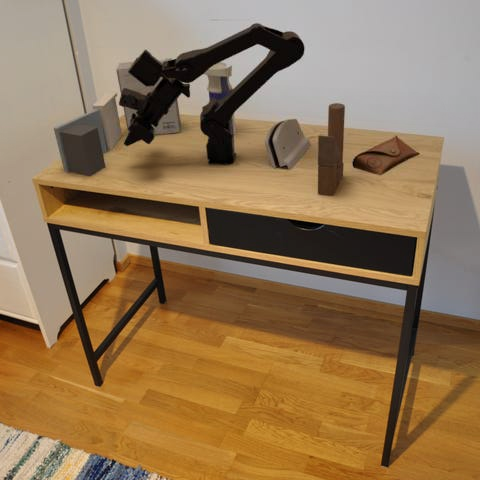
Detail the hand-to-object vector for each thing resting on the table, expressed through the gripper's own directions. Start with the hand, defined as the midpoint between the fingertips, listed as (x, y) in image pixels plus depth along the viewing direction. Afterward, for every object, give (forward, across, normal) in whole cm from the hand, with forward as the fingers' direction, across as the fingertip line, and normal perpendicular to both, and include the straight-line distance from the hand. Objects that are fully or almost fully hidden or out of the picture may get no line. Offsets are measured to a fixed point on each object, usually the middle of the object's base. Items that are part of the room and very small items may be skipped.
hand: (125, 144), depth 142 cm
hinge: (-24, 0, +34) cm, 42 cm away
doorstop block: (+12, -1, -4) cm, 13 cm away
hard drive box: (+1, -25, +8) cm, 27 cm away
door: (+13, -7, -5) cm, 16 cm away
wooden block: (-30, +19, +40) cm, 53 cm away
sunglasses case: (-41, +8, +52) cm, 66 cm away
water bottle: (-13, -19, +22) cm, 32 cm away
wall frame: (+9, -18, -1) cm, 20 cm away
